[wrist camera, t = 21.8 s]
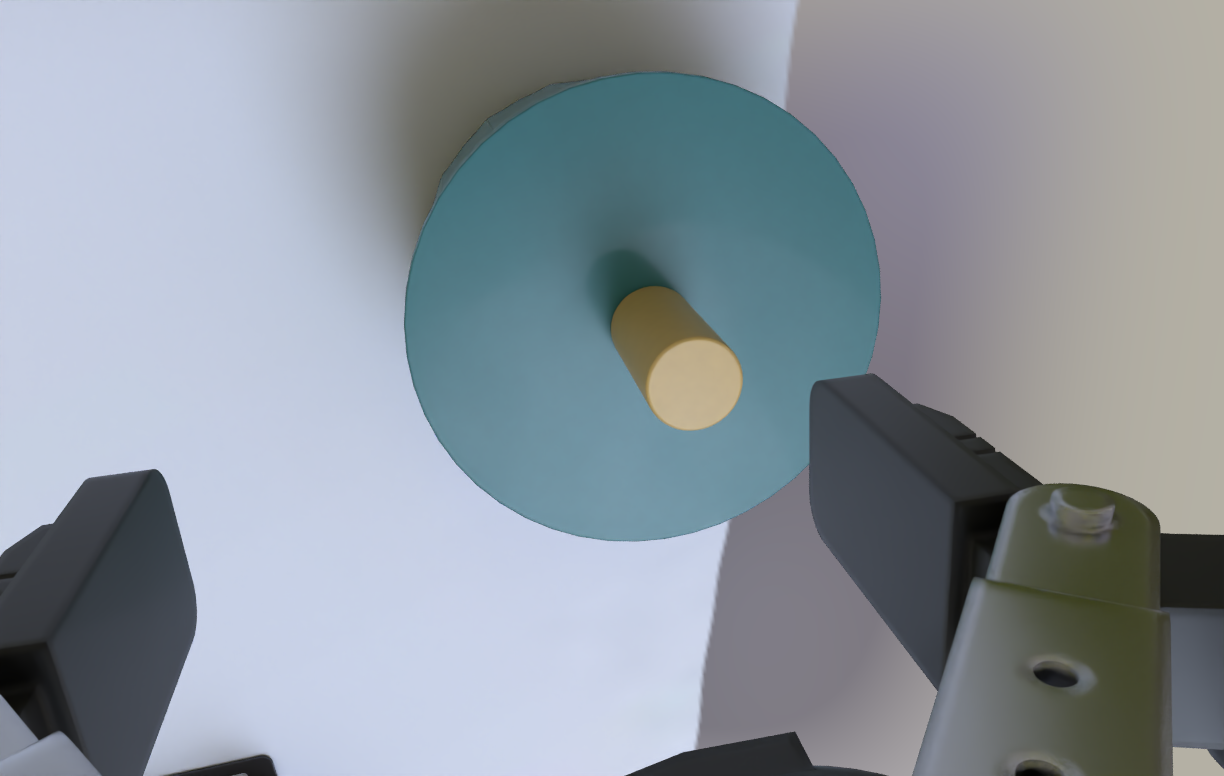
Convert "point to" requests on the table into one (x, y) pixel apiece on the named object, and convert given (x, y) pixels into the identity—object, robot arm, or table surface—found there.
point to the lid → (639, 304)
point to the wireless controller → (238, 768)
